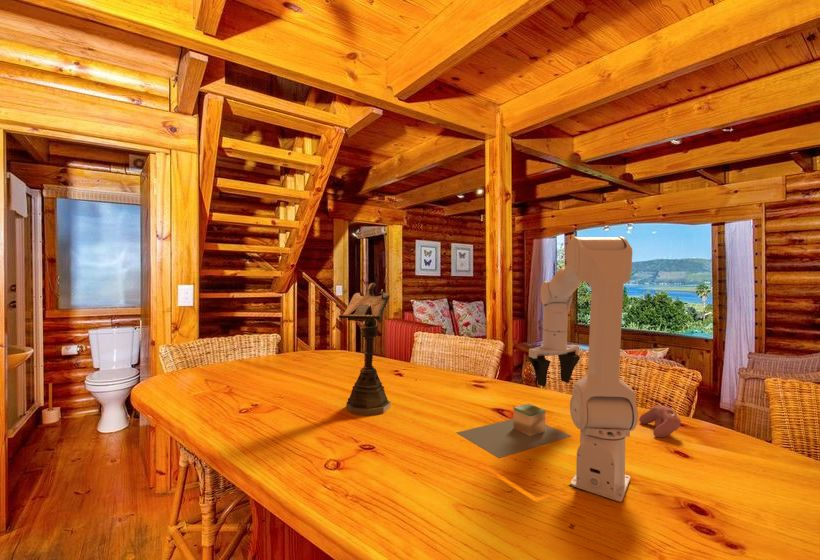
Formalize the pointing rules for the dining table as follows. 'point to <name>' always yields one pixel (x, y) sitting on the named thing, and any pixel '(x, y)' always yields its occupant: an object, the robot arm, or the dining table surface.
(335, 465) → the dining table surface
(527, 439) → the rubber mat
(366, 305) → the book stand
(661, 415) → the video game controller
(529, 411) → the birch block
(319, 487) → the dining table surface
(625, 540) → the dining table surface
